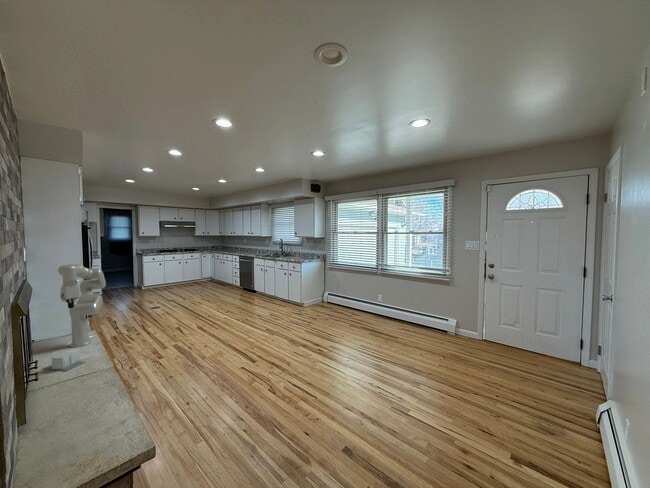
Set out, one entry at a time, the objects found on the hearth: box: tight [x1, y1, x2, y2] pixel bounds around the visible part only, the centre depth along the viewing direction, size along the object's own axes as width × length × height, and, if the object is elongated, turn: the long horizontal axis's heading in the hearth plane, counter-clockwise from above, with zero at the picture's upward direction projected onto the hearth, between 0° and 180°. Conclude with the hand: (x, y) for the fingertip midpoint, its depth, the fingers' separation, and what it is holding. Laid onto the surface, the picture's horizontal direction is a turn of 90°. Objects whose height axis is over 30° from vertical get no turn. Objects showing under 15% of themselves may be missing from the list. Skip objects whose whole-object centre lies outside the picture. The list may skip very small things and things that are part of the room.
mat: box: [42, 360, 87, 372], centre depth 180 cm, size 12×18×1 cm, turn 80°
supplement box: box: [51, 349, 81, 369], centre depth 180 cm, size 7×7×13 cm
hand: (71, 307), depth 201 cm, fingers closed
